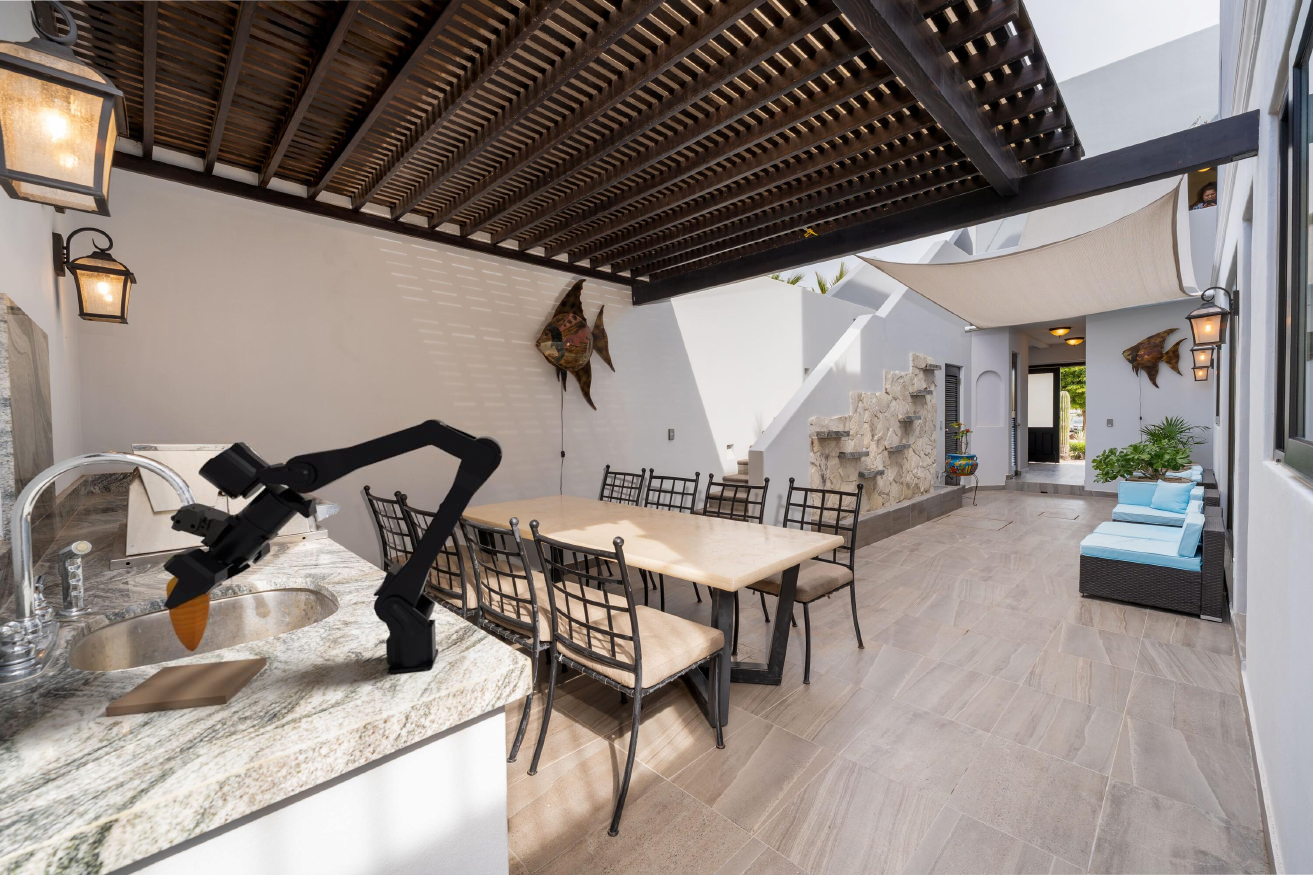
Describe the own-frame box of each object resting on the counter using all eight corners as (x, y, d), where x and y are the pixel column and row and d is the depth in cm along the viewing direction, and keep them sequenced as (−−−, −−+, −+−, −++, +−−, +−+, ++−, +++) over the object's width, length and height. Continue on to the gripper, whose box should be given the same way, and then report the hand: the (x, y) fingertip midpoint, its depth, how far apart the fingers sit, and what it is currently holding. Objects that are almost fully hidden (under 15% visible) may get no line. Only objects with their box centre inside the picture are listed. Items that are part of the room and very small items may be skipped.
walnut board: (266, 664, 89) (266, 657, 89) (226, 703, 77) (226, 694, 77) (164, 674, 86) (164, 666, 86) (106, 716, 74) (105, 707, 74)
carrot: (176, 661, 78) (169, 555, 77) (165, 653, 80) (158, 551, 80) (219, 648, 82) (213, 548, 81) (207, 641, 84) (201, 543, 84)
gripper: (243, 476, 90) (167, 549, 87) (176, 493, 72) (78, 586, 69) (301, 521, 92) (228, 593, 90) (250, 548, 74) (157, 639, 72)
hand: (178, 601), depth 80 cm, fingers closed on carrot, 5 cm apart
